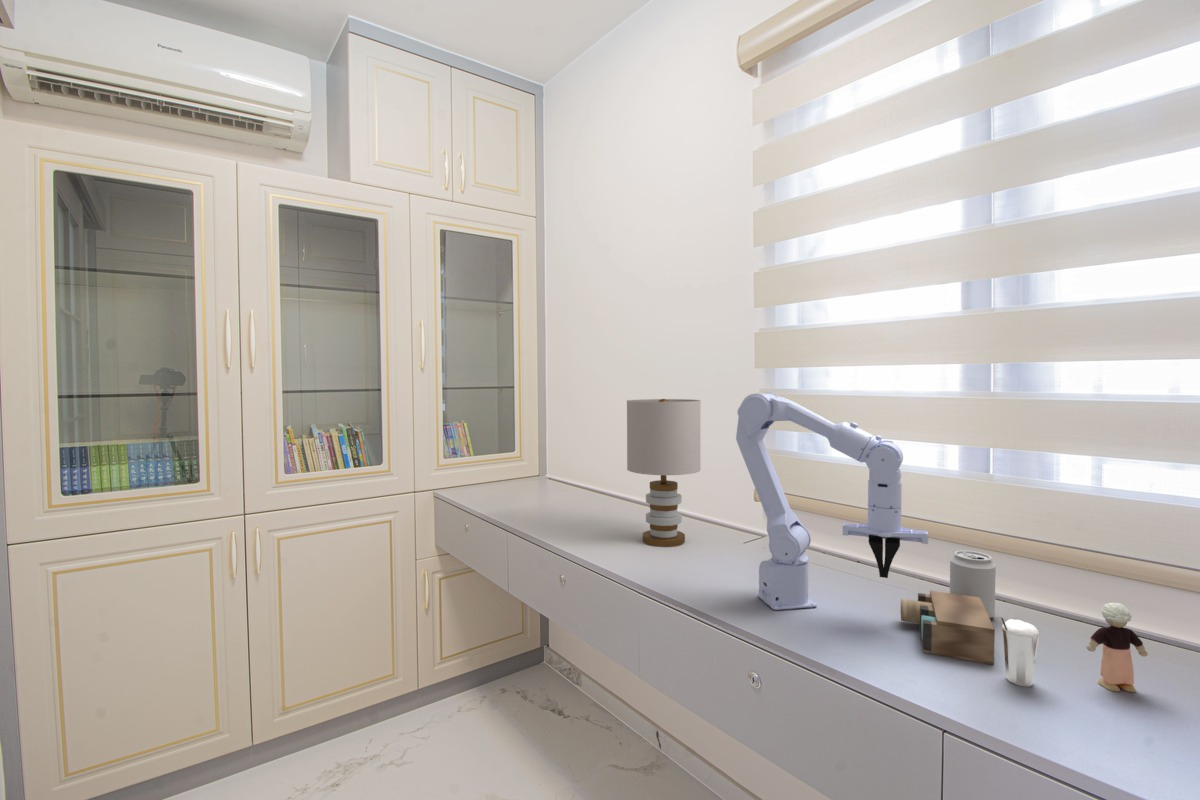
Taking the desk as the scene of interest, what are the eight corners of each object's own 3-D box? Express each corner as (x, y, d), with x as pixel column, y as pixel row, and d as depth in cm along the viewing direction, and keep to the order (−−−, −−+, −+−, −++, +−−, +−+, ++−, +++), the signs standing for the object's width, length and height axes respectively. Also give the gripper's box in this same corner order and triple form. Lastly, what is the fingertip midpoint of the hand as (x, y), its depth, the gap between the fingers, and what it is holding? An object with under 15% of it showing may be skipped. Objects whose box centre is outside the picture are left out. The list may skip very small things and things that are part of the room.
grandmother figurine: (1126, 679, 87) (1128, 597, 87) (1151, 693, 83) (1153, 608, 83) (1077, 680, 87) (1079, 598, 86) (1100, 694, 83) (1102, 609, 83)
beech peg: (901, 624, 106) (901, 602, 105) (900, 616, 109) (900, 595, 109) (964, 634, 101) (965, 612, 101) (961, 625, 105) (962, 604, 105)
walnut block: (923, 652, 96) (923, 618, 96) (917, 618, 110) (917, 588, 109) (994, 664, 92) (994, 629, 92) (979, 628, 105) (979, 597, 105)
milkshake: (989, 674, 89) (990, 611, 88) (1021, 672, 89) (1022, 610, 89) (1012, 690, 84) (1013, 624, 84) (1046, 688, 85) (1047, 622, 84)
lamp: (660, 527, 178) (660, 397, 177) (715, 541, 163) (715, 398, 162) (612, 540, 164) (611, 399, 163) (667, 556, 149) (667, 400, 147)
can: (980, 625, 106) (981, 562, 106) (941, 611, 113) (942, 551, 113) (1003, 617, 110) (1004, 556, 109) (963, 604, 116) (964, 546, 116)
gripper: (841, 506, 108) (841, 576, 108) (930, 513, 101) (929, 588, 102) (843, 499, 114) (843, 565, 114) (927, 505, 107) (926, 576, 108)
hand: (883, 575), depth 108 cm, fingers closed
